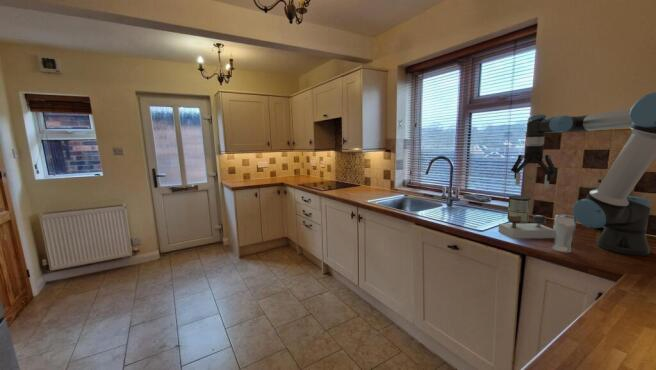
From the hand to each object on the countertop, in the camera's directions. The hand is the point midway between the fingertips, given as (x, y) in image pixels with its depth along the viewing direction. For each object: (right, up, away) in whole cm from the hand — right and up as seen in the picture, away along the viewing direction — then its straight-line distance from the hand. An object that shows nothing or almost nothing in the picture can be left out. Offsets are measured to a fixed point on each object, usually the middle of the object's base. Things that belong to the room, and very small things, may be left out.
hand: (531, 186), depth 140 cm
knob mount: (-9, -24, -8) cm, 27 cm away
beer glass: (-9, -27, -28) cm, 40 cm away
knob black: (-3, -21, -9) cm, 23 cm away
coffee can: (+4, -21, +16) cm, 27 cm away
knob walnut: (-15, -21, -8) cm, 27 cm away
